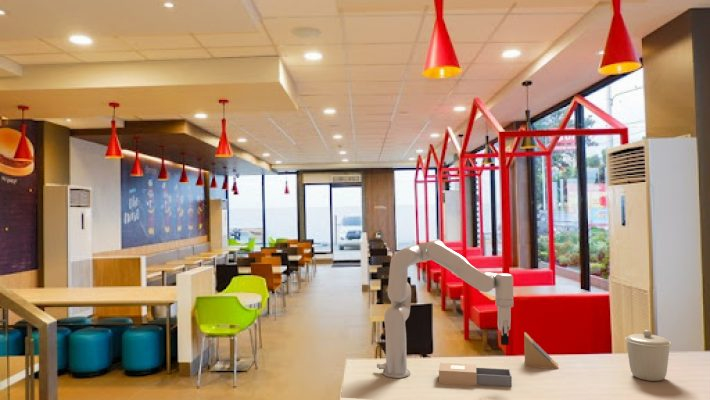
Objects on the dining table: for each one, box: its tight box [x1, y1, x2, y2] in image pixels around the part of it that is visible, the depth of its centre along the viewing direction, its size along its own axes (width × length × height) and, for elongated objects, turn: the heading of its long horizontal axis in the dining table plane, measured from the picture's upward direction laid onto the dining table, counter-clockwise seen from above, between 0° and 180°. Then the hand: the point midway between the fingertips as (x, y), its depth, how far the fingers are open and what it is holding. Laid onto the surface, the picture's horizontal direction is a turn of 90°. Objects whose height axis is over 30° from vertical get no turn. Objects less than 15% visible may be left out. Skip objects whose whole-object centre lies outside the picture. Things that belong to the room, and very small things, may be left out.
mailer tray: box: [476, 367, 513, 388], centre depth 225 cm, size 15×9×4 cm, turn 78°
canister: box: [624, 329, 672, 382], centre depth 229 cm, size 18×18×21 cm
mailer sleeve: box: [438, 362, 478, 386], centre depth 228 cm, size 16×11×6 cm
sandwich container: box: [523, 331, 560, 370], centre depth 248 cm, size 9×15×15 cm, turn 74°
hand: (504, 344), depth 224 cm, fingers closed
